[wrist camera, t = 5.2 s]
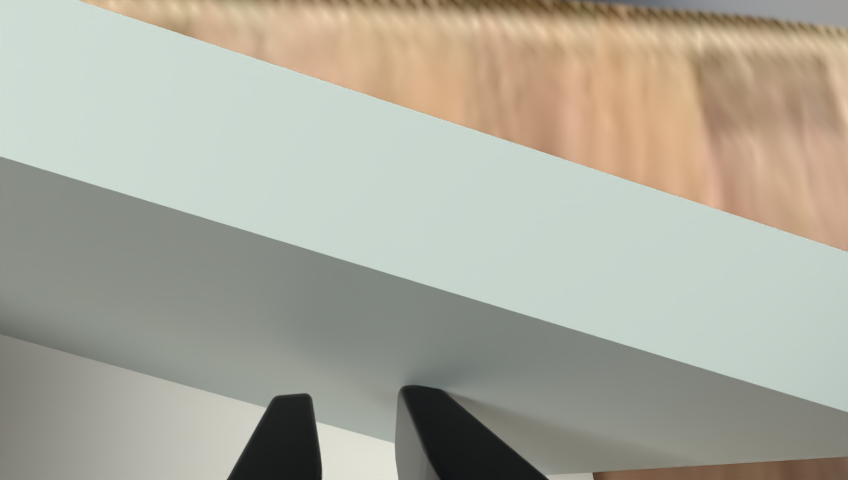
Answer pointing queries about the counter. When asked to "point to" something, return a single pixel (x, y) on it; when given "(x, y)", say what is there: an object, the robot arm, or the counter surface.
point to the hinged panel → (392, 260)
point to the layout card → (142, 426)
